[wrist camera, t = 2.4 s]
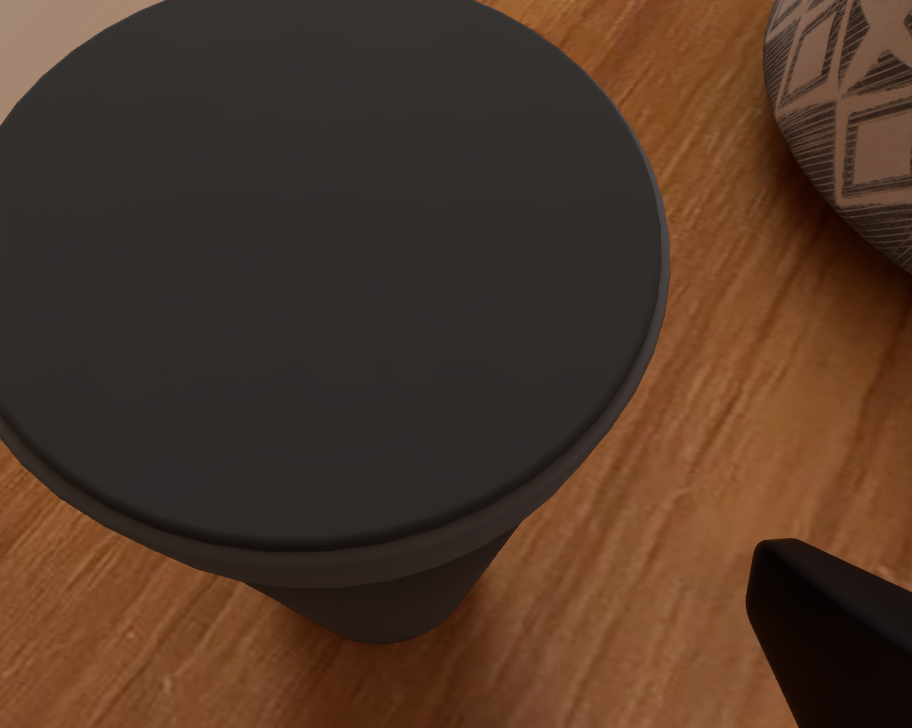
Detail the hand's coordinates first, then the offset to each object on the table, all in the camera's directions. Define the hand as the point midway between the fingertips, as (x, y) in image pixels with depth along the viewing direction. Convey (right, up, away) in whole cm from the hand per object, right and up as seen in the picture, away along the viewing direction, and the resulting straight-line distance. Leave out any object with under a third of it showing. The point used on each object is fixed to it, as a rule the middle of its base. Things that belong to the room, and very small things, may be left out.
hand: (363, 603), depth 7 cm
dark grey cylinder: (-1, -2, +10) cm, 10 cm away
